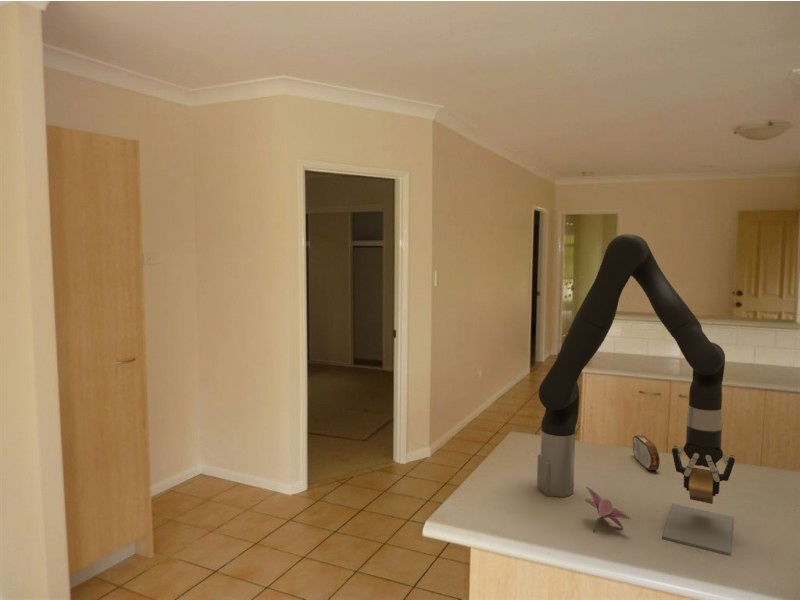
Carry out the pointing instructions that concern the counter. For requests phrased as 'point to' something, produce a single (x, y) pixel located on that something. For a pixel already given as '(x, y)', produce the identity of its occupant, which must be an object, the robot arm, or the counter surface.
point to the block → (701, 485)
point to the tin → (646, 452)
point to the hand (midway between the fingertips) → (701, 492)
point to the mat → (699, 529)
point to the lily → (605, 508)
